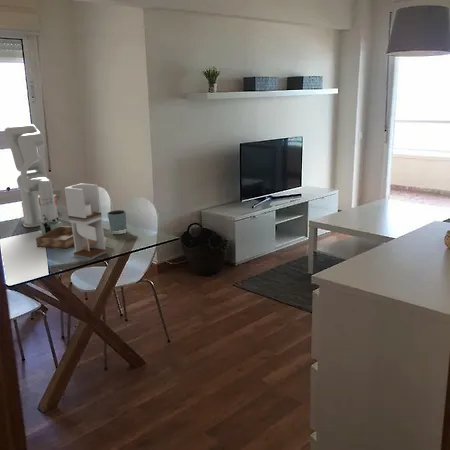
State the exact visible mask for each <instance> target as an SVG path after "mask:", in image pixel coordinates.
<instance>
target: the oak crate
mask: <svg viewBox="0 0 450 450" xmlns="http://www.w3.org/2000/svg"><path fill="white" fill-rule="evenodd" d="M35 242H36V247H37V248H40V247H41V248H44V249H61V250H67V249H69V248H71V247H73V246H74V239H73V232H72V226H67V225H65V226H64V225H62V226H59V227H57V228H55V229H53V230H51V231H49V232H47V233H45V234H40V235H39V236H37V237H35Z"/></svg>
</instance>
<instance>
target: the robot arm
mask: <svg viewBox="0 0 450 450" xmlns="http://www.w3.org/2000/svg"><path fill="white" fill-rule="evenodd" d="M3 136H4V139H5V141H6V143H7V145H8V146H9V148H10V150H11V154H12V158H13V161H14V165H15V168H16V170H17V171H18V172H20V175H19V176H17V179H16V183H17V186H18V189H19V191H20V198H21V204H22V203H23V207H22V210H23V209H24V214H23V216H24V215H25V216H24V217H23V216H22V217H21V218H20V222H23V224H22V225H23V227H25V228H35V227H40V224H43V225H44V227H45V232H46V233H47V232H49V231H51V230H50V226H49V223H50V221H56V222H59V221H58V220H59V216H60V215H59V212H58V213H57V209H56V205H55V202H54V195H55V194H54V189H53V182H52V180H51V179H49V178H48V175H47V171H46V166H45V162H44V160H43V158H42V156H41V155H40V154H39V153H38V149H37V148H41V147H44V146H45V138H44V135H43V133H41V131H40V130H39V129H38V128H37V127H36V126H35V124H32V123H30V124H29V123H28V124H26V123H25V124H18V125H16V124H15V125H11V126H7V127H6V128H4V133H3ZM30 171H33V172H30ZM36 191H39V196H40V203H41V205H40V204H39V198H38V195H37V193H36ZM46 222H47V224H46Z"/></svg>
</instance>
